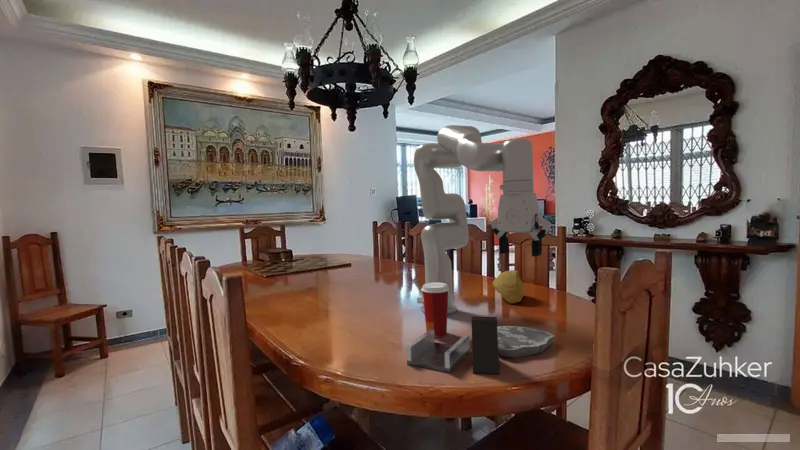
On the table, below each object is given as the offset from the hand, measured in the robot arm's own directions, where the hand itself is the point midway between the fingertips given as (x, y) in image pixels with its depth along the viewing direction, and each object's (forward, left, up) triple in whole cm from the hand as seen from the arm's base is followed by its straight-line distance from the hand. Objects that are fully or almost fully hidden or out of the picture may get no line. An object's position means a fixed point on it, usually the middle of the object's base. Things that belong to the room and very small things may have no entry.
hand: (519, 254), depth 102 cm
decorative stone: (-15, +51, -26) cm, 59 cm away
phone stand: (-6, -13, -26) cm, 29 cm away
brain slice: (-2, +3, -26) cm, 26 cm away
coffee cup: (-26, +3, -26) cm, 37 cm away
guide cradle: (-18, -13, -26) cm, 34 cm away
